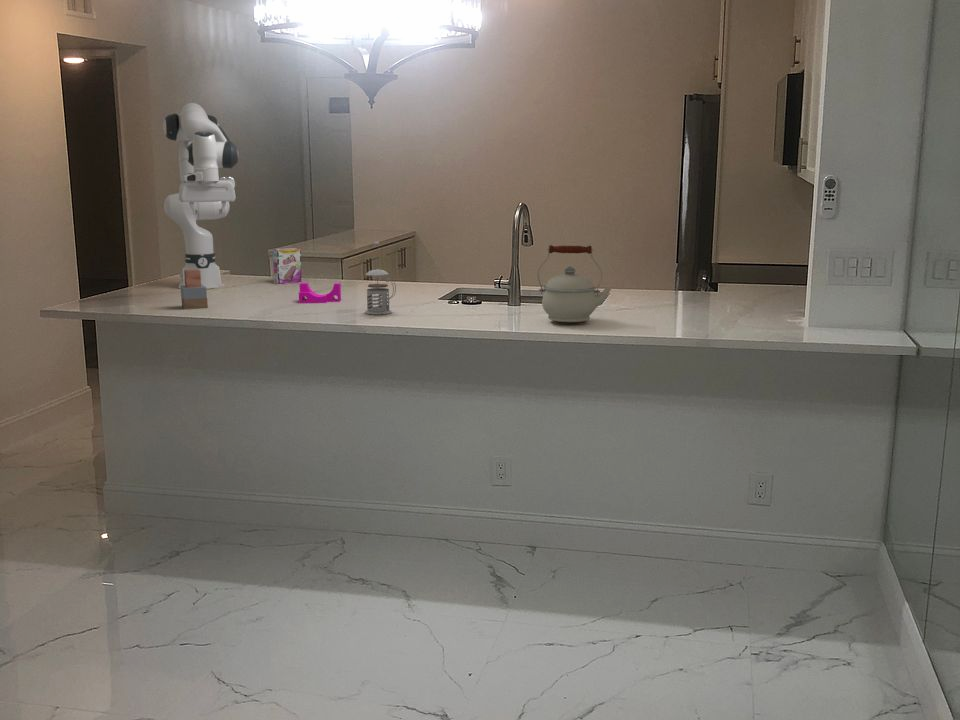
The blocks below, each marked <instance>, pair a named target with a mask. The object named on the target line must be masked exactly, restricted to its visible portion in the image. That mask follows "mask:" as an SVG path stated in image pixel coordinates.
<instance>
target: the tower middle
mask: <svg viewBox="0 0 960 720" xmlns="http://www.w3.org/2000/svg"><path fill="white" fill-rule="evenodd" d="M180 287H181V289H180V297H182V298H183V299H202V298H207V299H208V297H207V296H208V295H207V289H206V287H205V286H204V285H201V287H192V288H187V287H186V286H180ZM182 298H181V299H182Z"/></svg>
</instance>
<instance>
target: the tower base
mask: <svg viewBox="0 0 960 720" xmlns="http://www.w3.org/2000/svg"><path fill="white" fill-rule="evenodd" d="M180 297H181V296H180ZM181 307H182V308H183V310H197V309H209V308H208V297H207V298H202V299H183V298H182V297H181Z"/></svg>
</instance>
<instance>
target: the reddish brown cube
mask: <svg viewBox="0 0 960 720" xmlns="http://www.w3.org/2000/svg"><path fill="white" fill-rule="evenodd" d="M184 275H185V286H186V287H187V288H192V287H201V273H200V270H199V269H193V270H184Z"/></svg>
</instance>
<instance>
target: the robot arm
mask: <svg viewBox="0 0 960 720" xmlns="http://www.w3.org/2000/svg"><path fill="white" fill-rule="evenodd" d="M162 124H163V125H162V129H163V132H164V135H165V137H166V138H167V139H168V140H171V141H175V142H176V141H179V142H180V141H181V143H180V144H179V147H178V149H179V150H178V166H179V167H178V168H179V178H180V181H181V183H180V184H179V188H178V193H172V194H169V195H167V196H166V197H165V199H164V202H163V209H164V210H163V211H164V213H165V215H166V216H167V217H168V218H169V219H170V220H172V221H174V222H175V224H177V225H178V227H179V228H180V230H181V232H182V234H183V237H184V245H185V246H184V247H185V253H184V254H185V255H184V262H185V265H184V267H182V270H181V271H180V272H179V278H181V281H180V283H179V284H178V289H179V290H181V287H180V286H185V275H184V270H193V269H199V270H200V273H201V285H204V286H205V287H206V290H209V289H218V288H220V287H225V286H226V284H225V283H223V282H222V280H221V271H220V266H219V265H217V264H216V254H215V252H214V249H215V248H214V238H213V237H214V236H213V234H212V233H211V232H210V231H209V230H208V229H205V228H204V227H201V226H200V225H198V224H197V221H199V220H200V221H201V220H203V221H204V220H205V221H206V220H219V219H222V218H225V217H227V215H228V214H229V212H230V208H231V207H230V202H233V203H234V202H235V201H236V197H237V196H236V191H235V187H236V181H235V179H234V178H233V177H232V176H219V168H222V169H232V168H234V167H236V165H237V164H238V161H239V151H238V148H237V146H236V145H235V143H233V141H231V140H230V138H229V136H228V135H227V134H226V132H225V131H224V129H223V128H222V127H221V126H220V125H219V122H218V119H217V118H216V116H213V115H210V114H207V112H206V111H205V109H204V108H203V107H202V106H201V105H200V104H199V103H196V102H189V103H187V104H184V105H183V107H182V108H181V110H180V113H175V112H174V113H171V114H168V115H167V116H165V118H164V121H163V123H162Z"/></svg>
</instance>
